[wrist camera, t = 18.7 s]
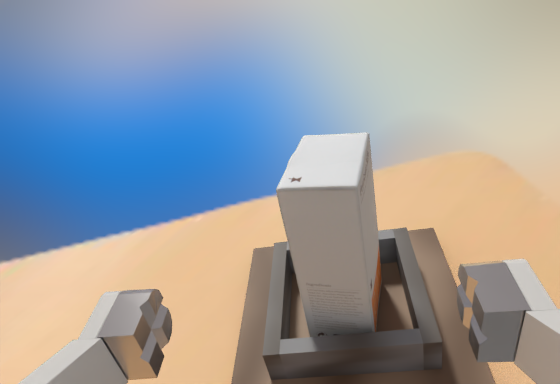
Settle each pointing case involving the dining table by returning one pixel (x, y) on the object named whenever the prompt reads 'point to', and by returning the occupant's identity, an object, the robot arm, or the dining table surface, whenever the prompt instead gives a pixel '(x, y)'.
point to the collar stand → (361, 346)
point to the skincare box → (333, 232)
